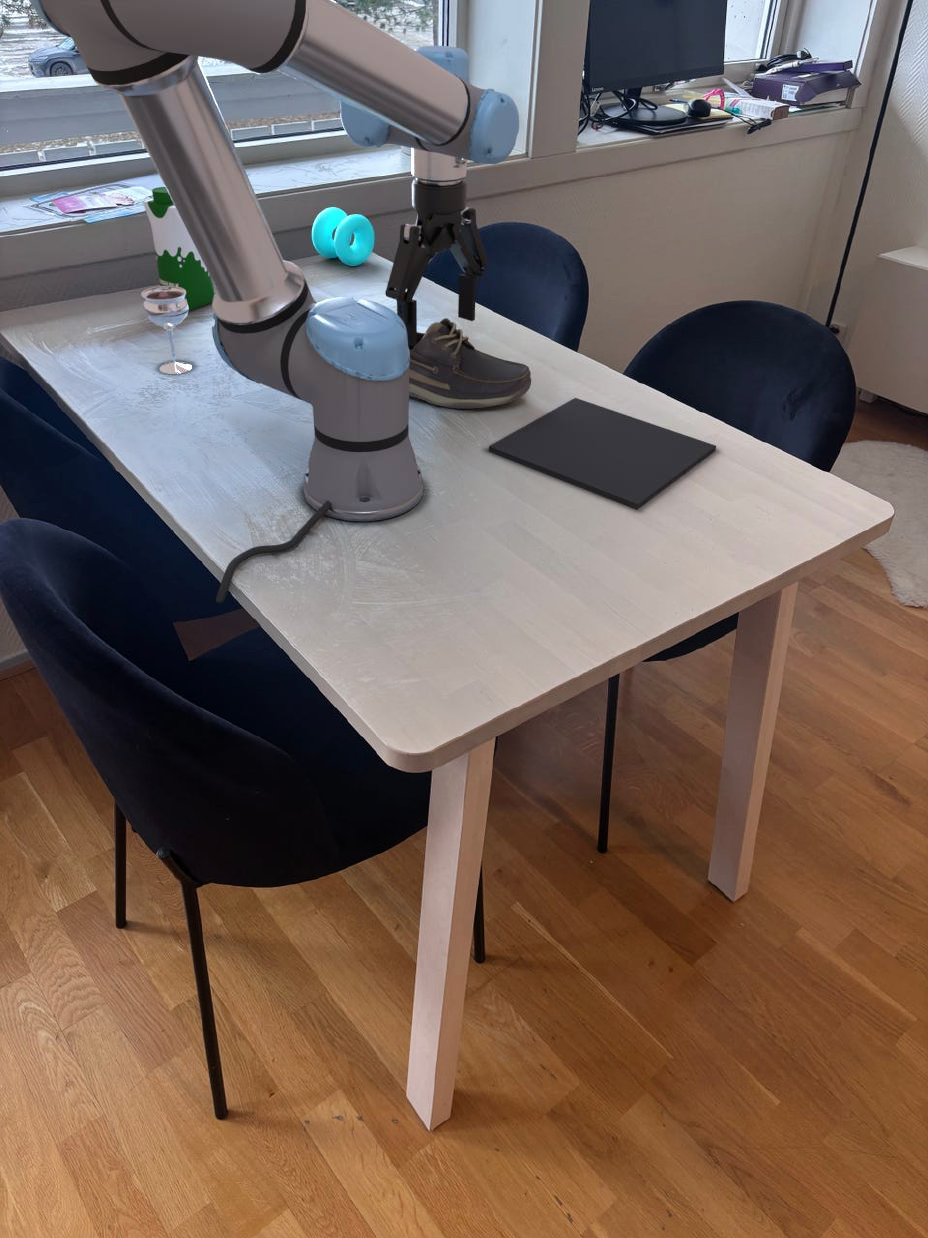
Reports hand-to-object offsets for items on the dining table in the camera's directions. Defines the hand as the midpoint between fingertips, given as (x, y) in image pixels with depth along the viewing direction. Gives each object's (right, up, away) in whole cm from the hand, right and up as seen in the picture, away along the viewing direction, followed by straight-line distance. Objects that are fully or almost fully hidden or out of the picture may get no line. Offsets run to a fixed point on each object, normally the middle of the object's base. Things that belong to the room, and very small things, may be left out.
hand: (438, 330), depth 143 cm
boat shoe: (-1, -8, +6) cm, 10 cm away
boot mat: (+24, -19, -8) cm, 32 cm away
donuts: (-21, +32, +57) cm, 69 cm away
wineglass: (-43, -3, +10) cm, 44 cm away
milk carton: (-47, +16, +35) cm, 61 cm away
